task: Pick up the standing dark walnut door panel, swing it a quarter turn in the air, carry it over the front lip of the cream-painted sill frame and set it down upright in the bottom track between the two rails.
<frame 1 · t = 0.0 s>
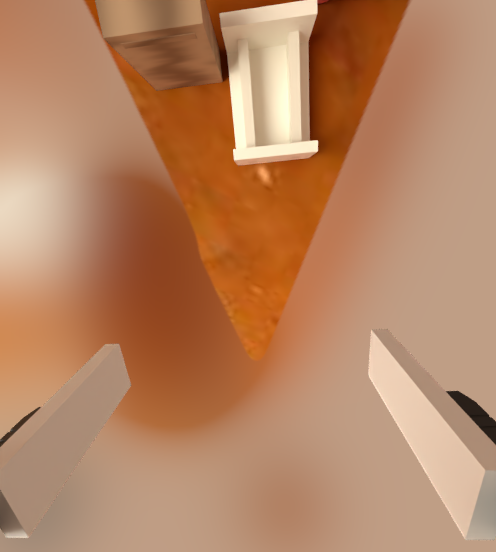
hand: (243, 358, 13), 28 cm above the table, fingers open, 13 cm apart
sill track: (269, 104, 33), on the table
walnut panel: (187, 70, 33), on the table
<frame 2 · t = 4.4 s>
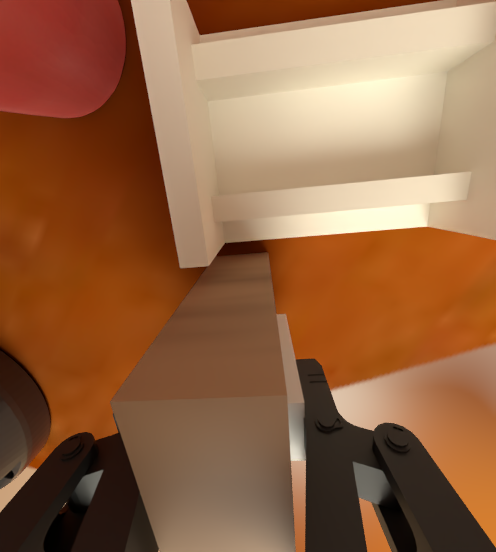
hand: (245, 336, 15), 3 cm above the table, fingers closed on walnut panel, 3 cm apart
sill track: (319, 142, 14), on the table
walnut panel: (247, 316, 18), on the table, touching gripper
flower pot: (57, 34, 13), on the table
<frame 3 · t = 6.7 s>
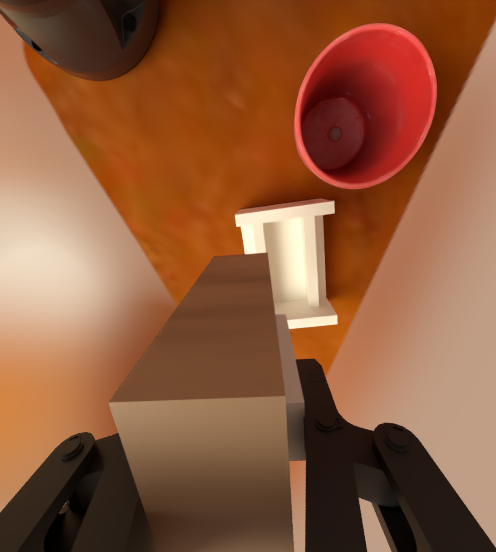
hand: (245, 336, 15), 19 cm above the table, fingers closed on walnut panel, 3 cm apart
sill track: (284, 258, 33), on the table
walnut panel: (247, 316, 18), point 17 cm above the table, touching gripper
flower pot: (330, 136, 28), on the table
when the fingers open (5 cm above the table, at t = 9.4 s): walnut panel drops 1 cm, resting on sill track.
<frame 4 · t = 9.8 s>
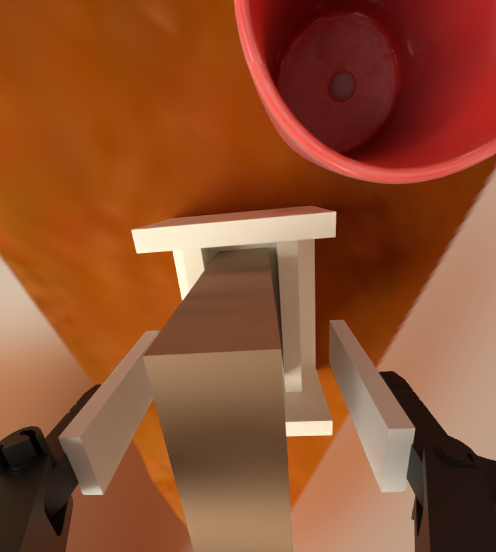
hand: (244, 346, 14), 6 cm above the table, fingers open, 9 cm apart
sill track: (248, 301, 20), on the table
walnut panel: (248, 307, 19), point 1 cm above the table, touching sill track
flower pot: (333, 94, 16), on the table
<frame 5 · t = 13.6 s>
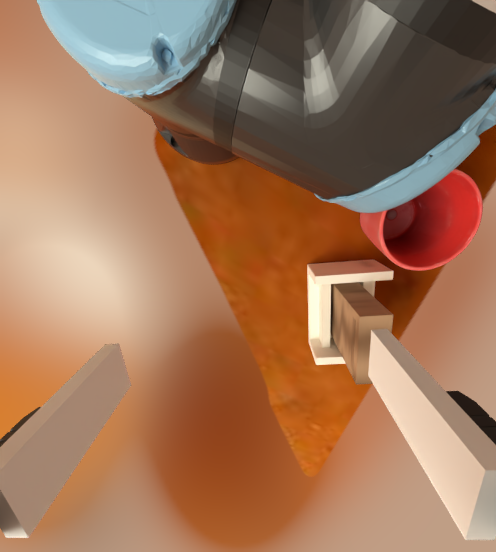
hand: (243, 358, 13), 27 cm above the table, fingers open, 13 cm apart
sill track: (339, 303, 41), on the table
walnut panel: (341, 305, 40), point 1 cm above the table, touching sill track
flower pot: (386, 214, 36), on the table
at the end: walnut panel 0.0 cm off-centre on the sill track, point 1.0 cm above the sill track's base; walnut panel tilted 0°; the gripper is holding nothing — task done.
